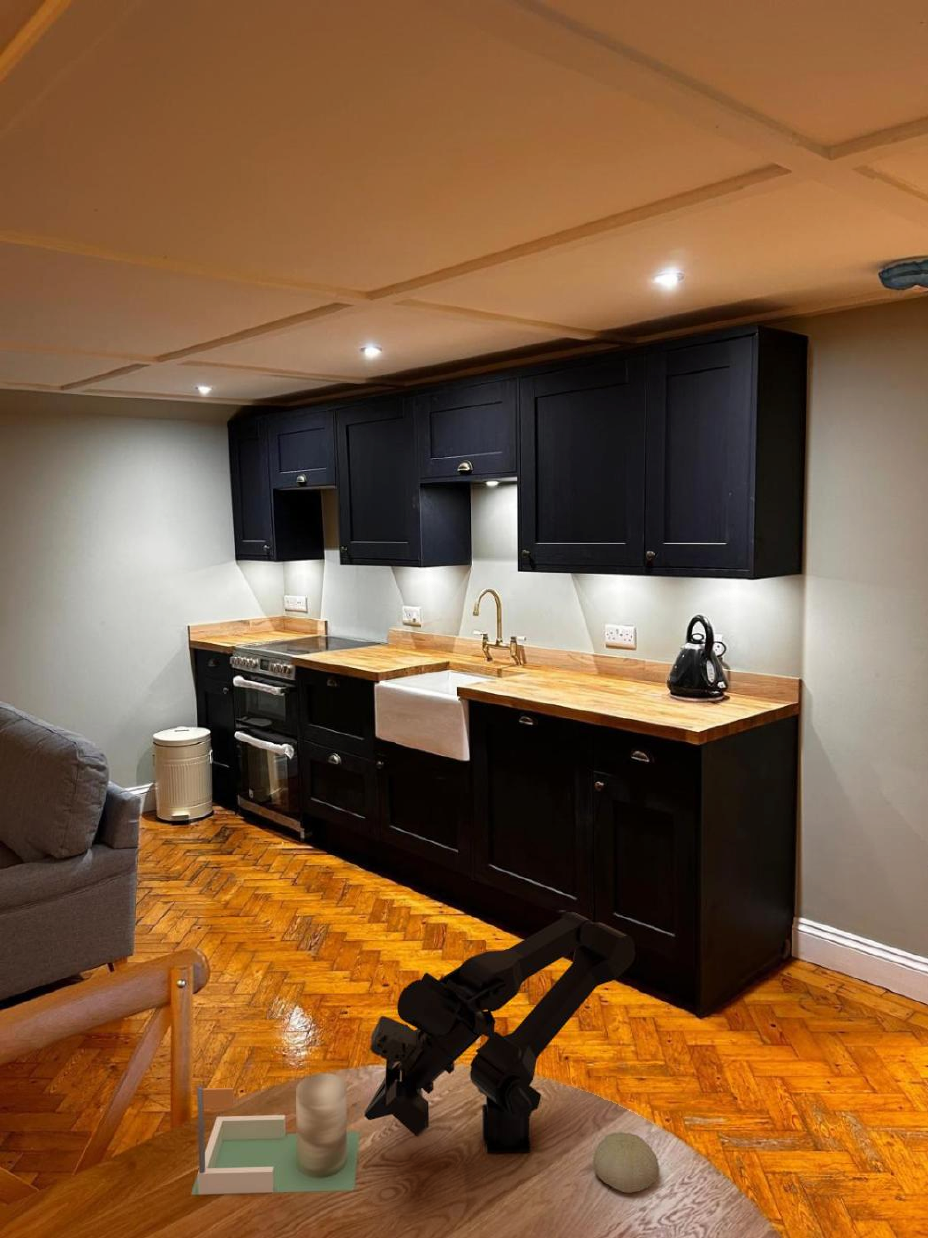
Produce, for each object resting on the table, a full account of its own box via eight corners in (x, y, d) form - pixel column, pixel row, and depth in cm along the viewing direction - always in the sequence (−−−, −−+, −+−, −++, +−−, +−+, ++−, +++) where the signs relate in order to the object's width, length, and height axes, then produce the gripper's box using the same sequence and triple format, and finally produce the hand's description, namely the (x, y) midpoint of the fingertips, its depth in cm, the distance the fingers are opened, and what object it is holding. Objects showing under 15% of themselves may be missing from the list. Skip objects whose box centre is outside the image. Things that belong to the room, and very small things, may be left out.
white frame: (285, 1134, 137) (284, 1038, 136) (272, 1192, 126) (270, 1088, 124) (217, 1135, 137) (215, 1040, 135) (198, 1194, 125) (195, 1090, 123)
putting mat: (359, 1138, 138) (359, 1132, 138) (354, 1197, 126) (354, 1190, 126) (210, 1142, 137) (210, 1136, 137) (190, 1201, 125) (190, 1194, 125)
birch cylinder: (348, 1143, 135) (348, 1073, 134) (344, 1177, 129) (344, 1103, 127) (300, 1145, 135) (299, 1074, 134) (293, 1179, 128) (292, 1104, 127)
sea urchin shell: (654, 1138, 136) (659, 1127, 130) (657, 1201, 131) (663, 1193, 125) (591, 1133, 137) (594, 1123, 130) (592, 1196, 132) (594, 1188, 126)
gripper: (405, 971, 139) (331, 1042, 140) (403, 1041, 121) (319, 1122, 121) (457, 1020, 140) (384, 1090, 141) (463, 1096, 122) (379, 1177, 122)
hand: (366, 1116), depth 131 cm, fingers closed
